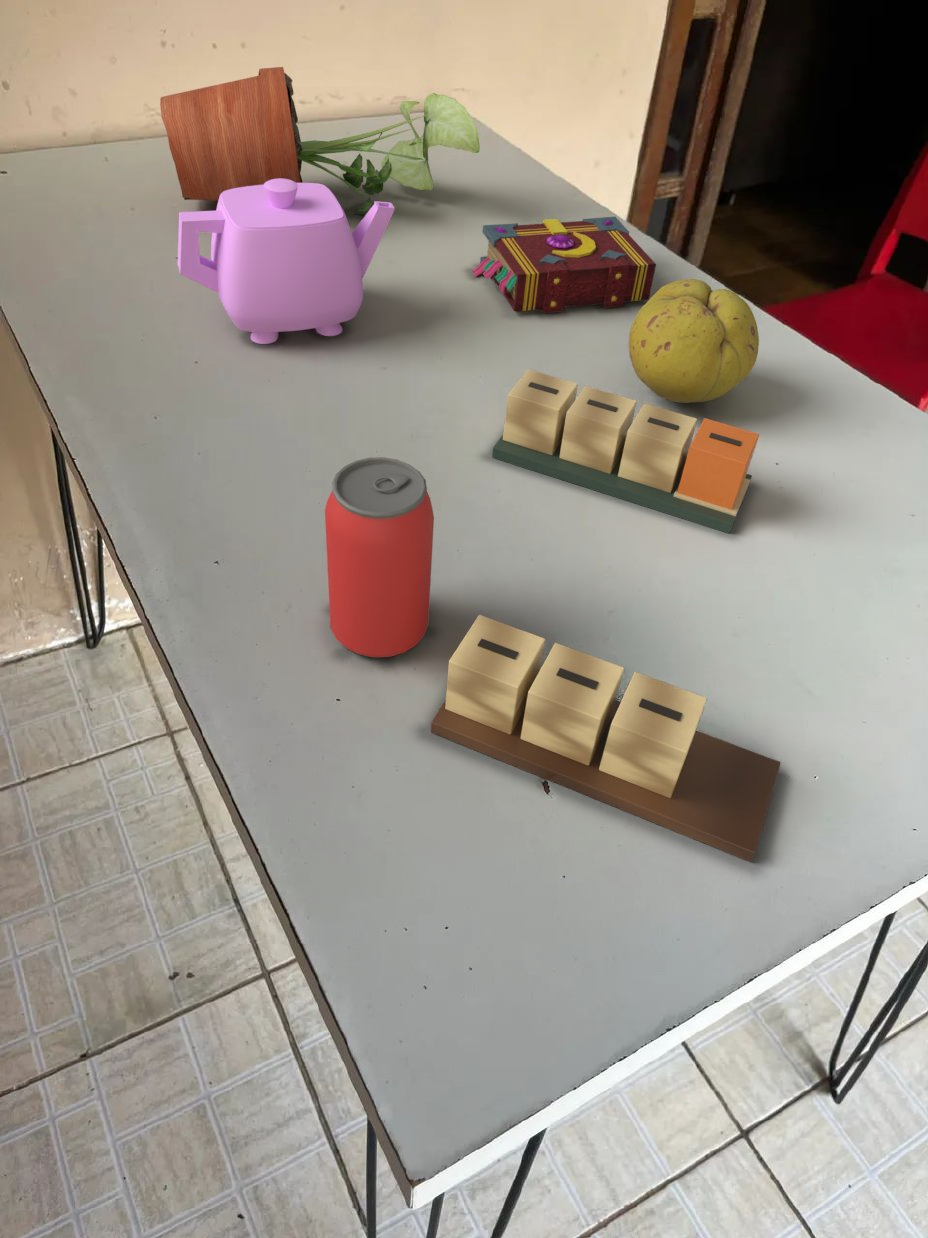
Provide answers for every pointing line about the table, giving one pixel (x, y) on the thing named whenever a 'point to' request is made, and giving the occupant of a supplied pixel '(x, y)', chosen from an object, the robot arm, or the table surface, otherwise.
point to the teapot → (282, 256)
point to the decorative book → (566, 264)
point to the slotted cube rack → (606, 446)
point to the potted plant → (292, 139)
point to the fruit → (693, 341)
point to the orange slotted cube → (717, 463)
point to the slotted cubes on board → (604, 736)
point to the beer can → (379, 556)
